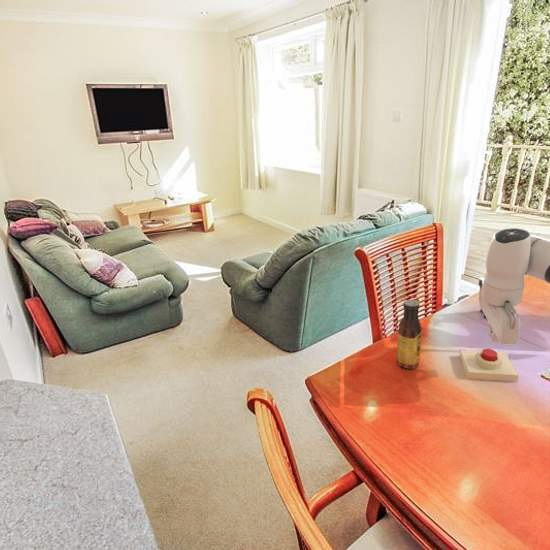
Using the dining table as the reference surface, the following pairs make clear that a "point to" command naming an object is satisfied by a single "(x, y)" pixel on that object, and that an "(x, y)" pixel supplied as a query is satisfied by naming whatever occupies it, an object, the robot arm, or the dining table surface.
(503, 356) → the control block
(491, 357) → the button
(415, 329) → the sauce bottle
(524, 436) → the dining table surface
